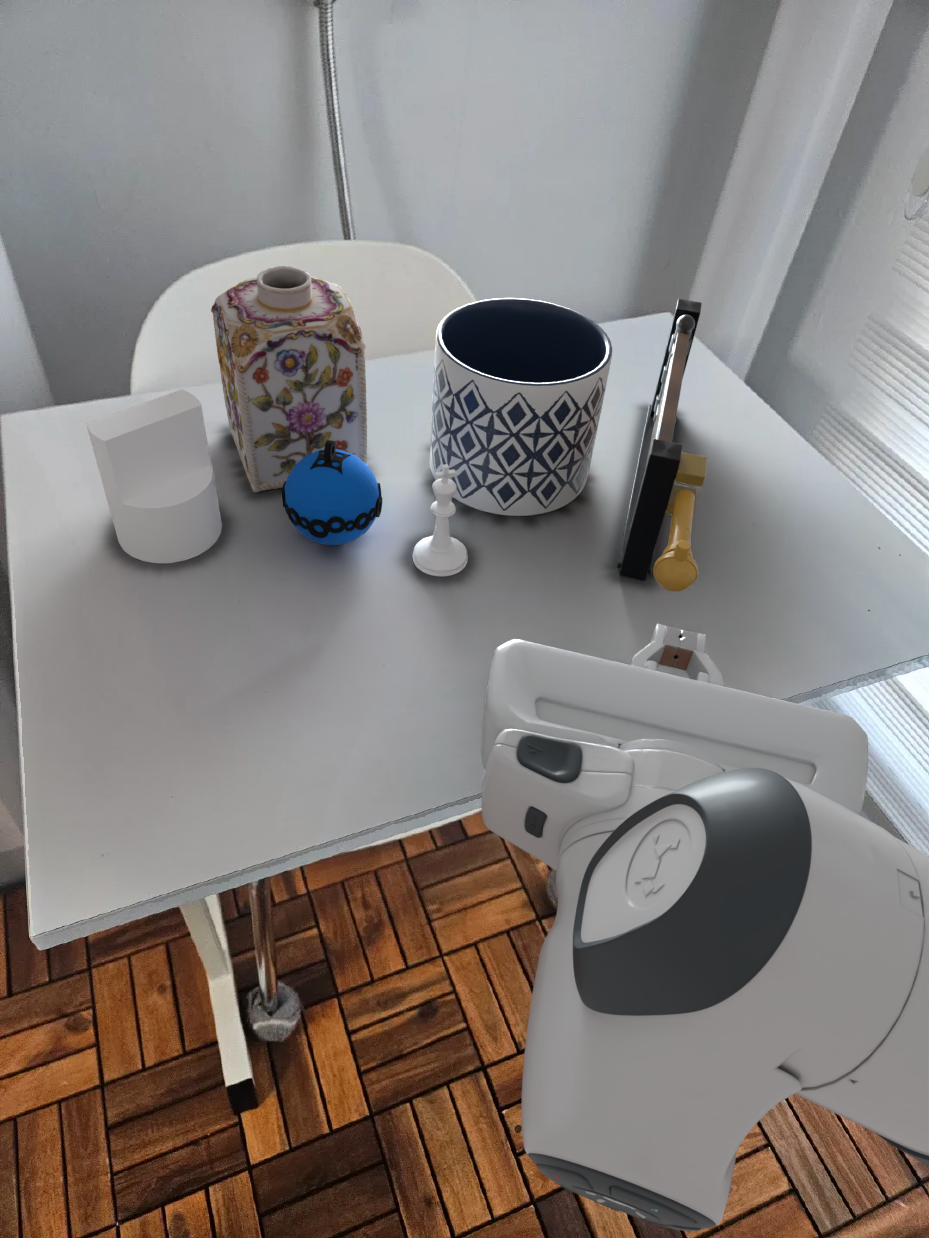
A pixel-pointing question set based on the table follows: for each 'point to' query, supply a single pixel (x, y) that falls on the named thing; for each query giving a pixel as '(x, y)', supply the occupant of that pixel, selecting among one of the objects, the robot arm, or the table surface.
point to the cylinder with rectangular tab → (159, 478)
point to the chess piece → (441, 533)
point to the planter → (517, 403)
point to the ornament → (331, 496)
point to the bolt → (678, 548)
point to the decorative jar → (290, 371)
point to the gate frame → (658, 478)
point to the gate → (672, 381)
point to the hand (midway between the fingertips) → (678, 636)
